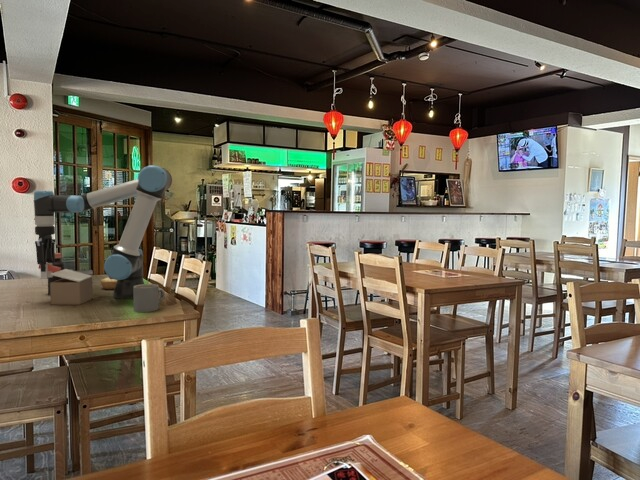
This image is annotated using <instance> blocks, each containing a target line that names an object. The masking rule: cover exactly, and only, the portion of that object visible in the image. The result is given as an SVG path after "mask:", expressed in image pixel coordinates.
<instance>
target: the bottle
mask: <svg viewBox="0 0 640 480" xmlns="http://www.w3.org/2000/svg"><path fill="white" fill-rule="evenodd" d="M52 265H53V266H57V267H61V270H64V269H65V263H64V262H63V261H62V253H61V252H55V262H54V263H52ZM61 270H60V271H61ZM53 273H54V272H53ZM59 279H62V278H61V277H57V276H53V277H48V279H47V295H48V296H51V293H50V283H51V282H54V281H56V280H59Z"/></svg>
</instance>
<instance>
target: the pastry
mask: <svg viewBox="0 0 640 480" xmlns="http://www.w3.org/2000/svg"><path fill="white" fill-rule="evenodd" d="M116 283H117V280H115V279H112V278H110V277H109V276H108V277H105V278H102V279H101V280H100V285H101V287H102V289H103V290H109V291H110V290H111V291H112V290H113V291H114V289H115V286H116Z"/></svg>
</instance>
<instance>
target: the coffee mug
mask: <svg viewBox="0 0 640 480" xmlns="http://www.w3.org/2000/svg"><path fill="white" fill-rule="evenodd" d="M159 286H160V285H158V284H157V283H156V284H154V283H145V284H141V285H136V286H134V287H133V295H134V298H133V311H134V312H135V313H137V312H138V313H150V312H155V310H156V311H157V310H159V309H160V303H161V302H162V301H163V300H164V299H165V297H166V296H165V294H166V293H165V292H166V291H165V290H164V288H161V287H159ZM159 292H160V294H159ZM159 295H160V296H159Z"/></svg>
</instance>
